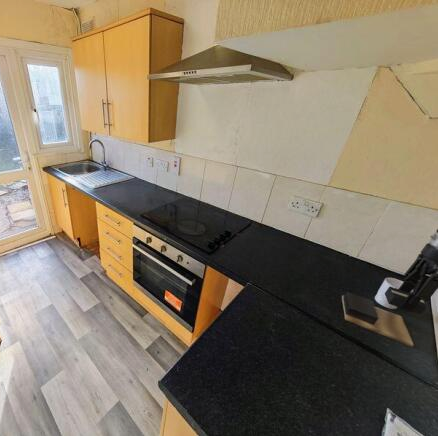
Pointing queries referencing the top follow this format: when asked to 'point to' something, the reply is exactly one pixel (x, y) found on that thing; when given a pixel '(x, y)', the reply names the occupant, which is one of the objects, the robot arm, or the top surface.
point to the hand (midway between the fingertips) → (402, 303)
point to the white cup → (385, 285)
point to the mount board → (385, 325)
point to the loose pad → (402, 299)
